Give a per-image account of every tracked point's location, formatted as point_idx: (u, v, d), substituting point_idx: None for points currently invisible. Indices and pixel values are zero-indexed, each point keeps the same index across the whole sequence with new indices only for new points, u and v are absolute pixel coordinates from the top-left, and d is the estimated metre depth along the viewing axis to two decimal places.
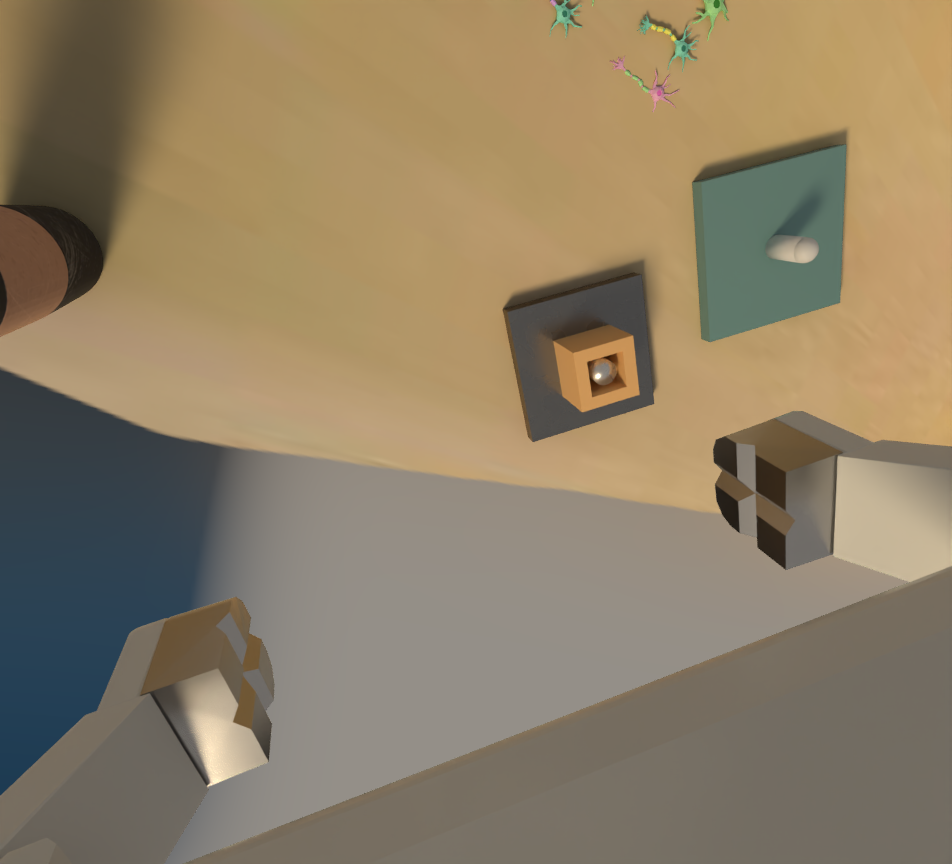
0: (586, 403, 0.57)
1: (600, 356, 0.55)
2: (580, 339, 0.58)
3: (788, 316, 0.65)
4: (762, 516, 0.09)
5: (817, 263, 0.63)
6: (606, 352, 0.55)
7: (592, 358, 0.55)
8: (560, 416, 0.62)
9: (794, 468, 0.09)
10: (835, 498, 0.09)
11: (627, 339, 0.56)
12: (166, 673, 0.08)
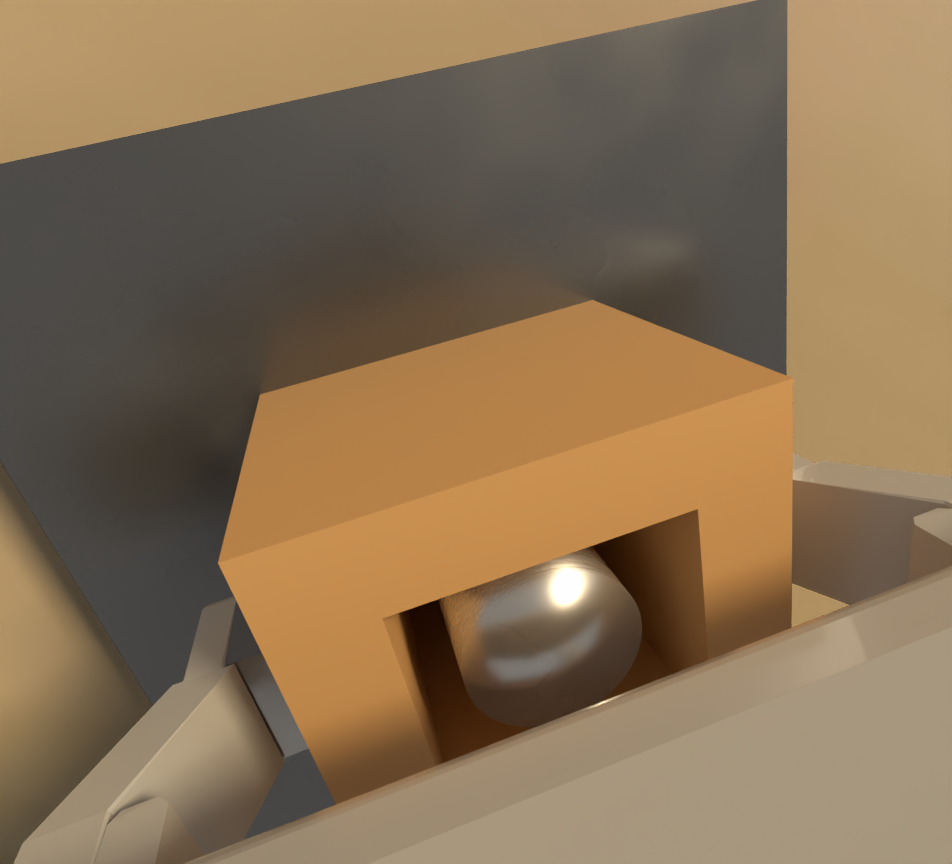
0: (748, 457, 0.07)
1: None
2: None
3: None
4: None
5: None
6: None
7: None
8: (606, 165, 0.10)
9: None
10: None
11: None
12: (247, 645, 0.08)
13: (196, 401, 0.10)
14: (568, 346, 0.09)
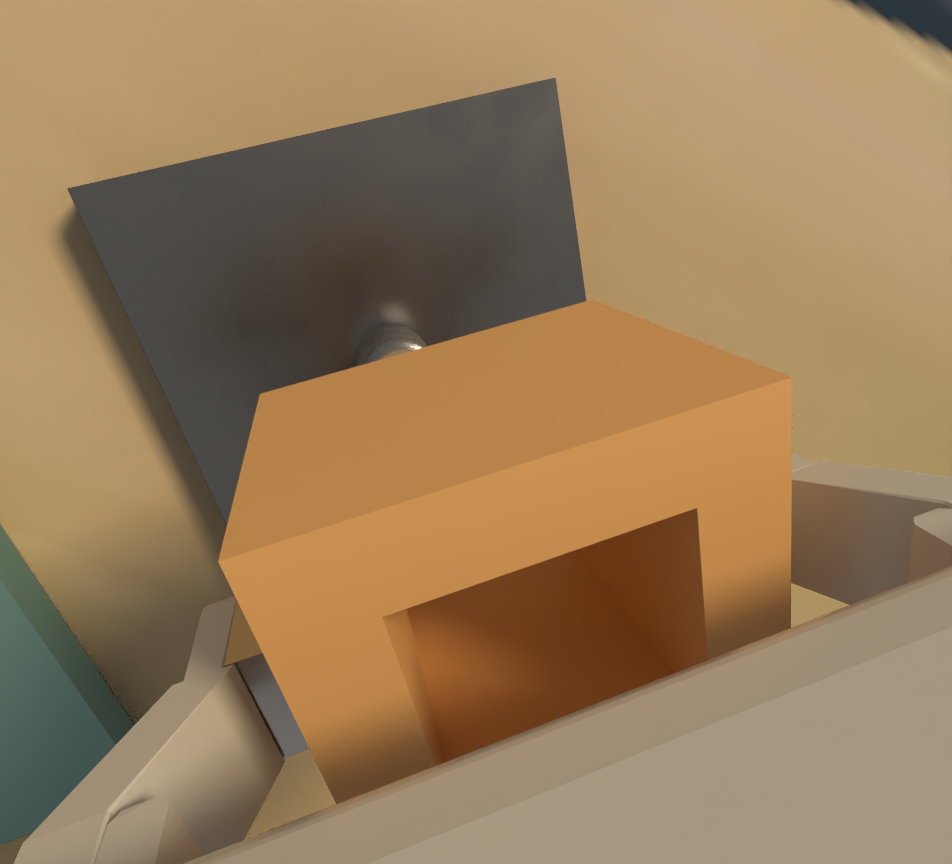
0: (747, 456, 0.07)
1: None
2: None
3: None
4: None
5: None
6: None
7: None
8: (460, 170, 0.18)
9: None
10: None
11: None
12: (247, 645, 0.08)
13: (236, 298, 0.18)
14: (568, 345, 0.09)
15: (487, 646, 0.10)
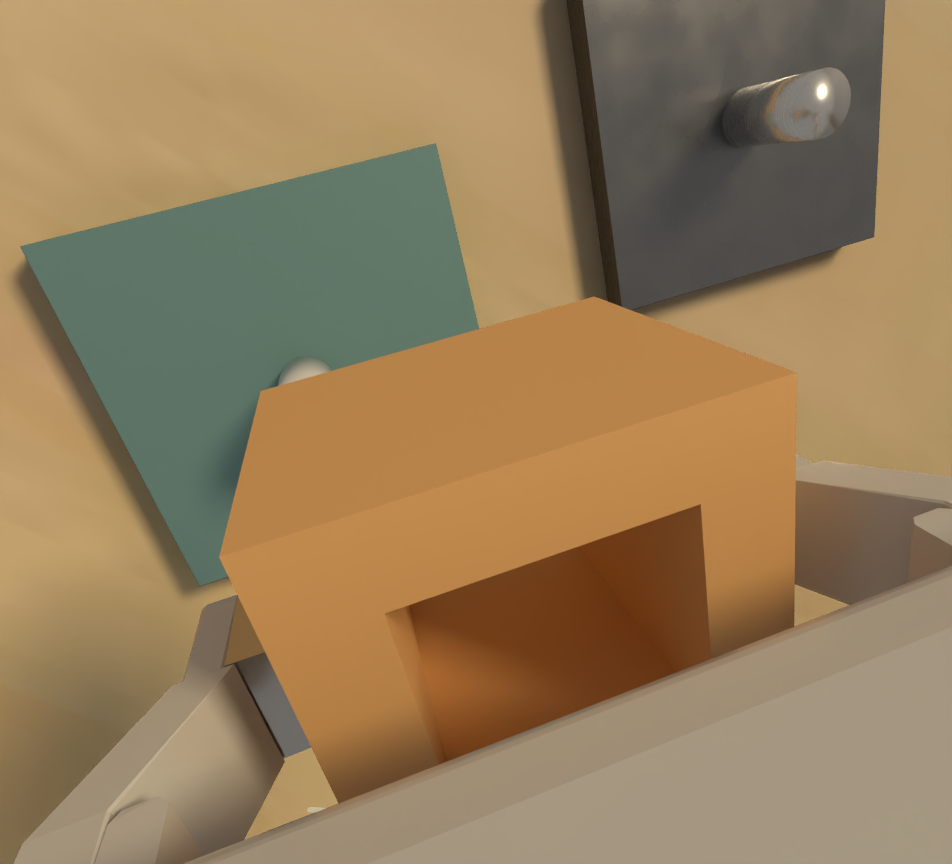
0: (751, 452, 0.07)
1: None
2: None
3: (199, 208, 0.23)
4: None
5: (162, 352, 0.25)
6: None
7: None
8: None
9: None
10: None
11: None
12: (247, 645, 0.08)
13: (659, 55, 0.25)
14: (570, 342, 0.09)
15: (488, 644, 0.10)
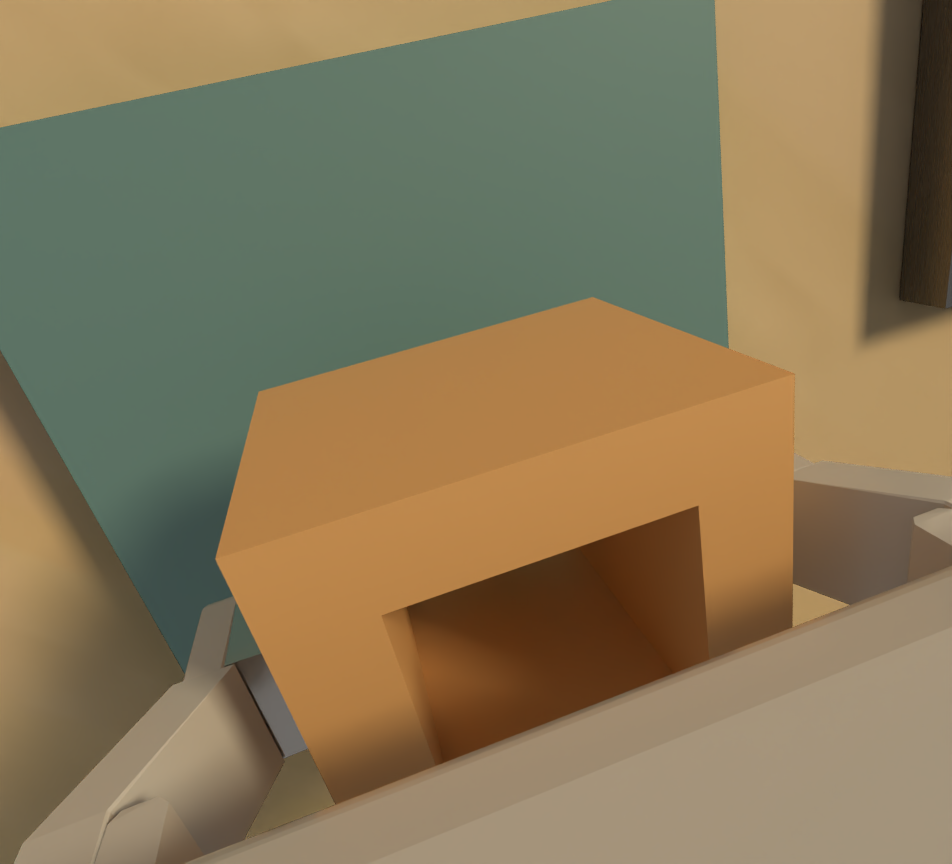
0: (749, 454, 0.07)
1: None
2: None
3: (264, 85, 0.11)
4: None
5: (183, 373, 0.13)
6: None
7: None
8: None
9: None
10: None
11: None
12: (248, 644, 0.08)
13: None
14: (568, 343, 0.09)
15: (487, 645, 0.10)
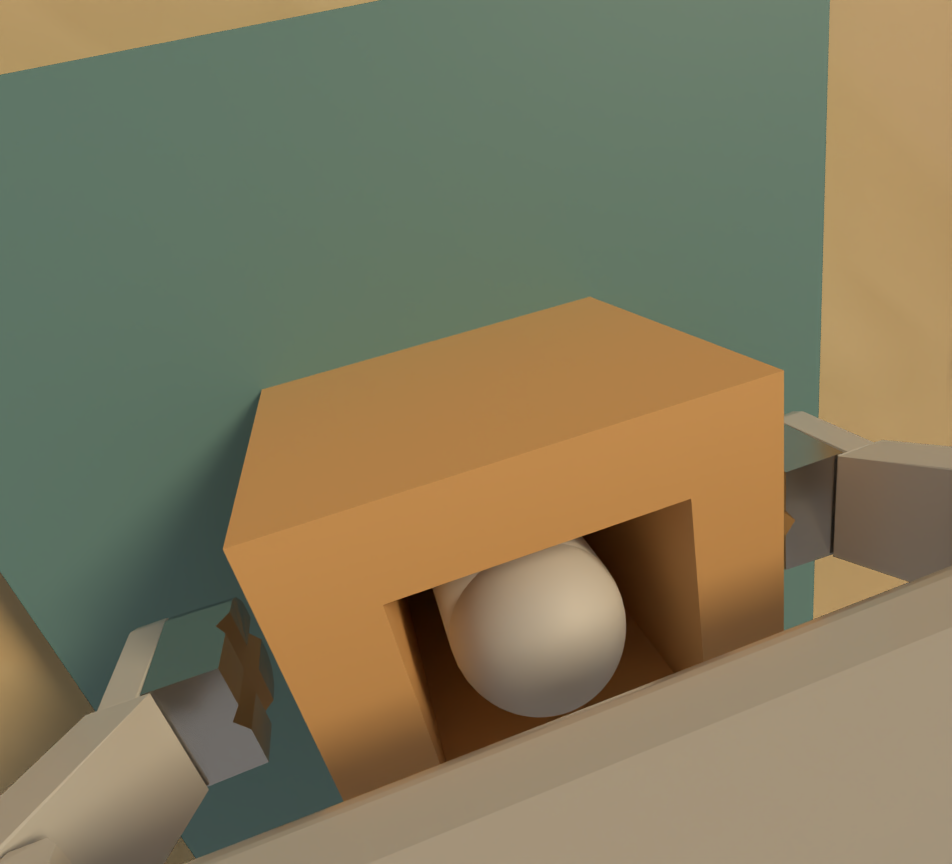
0: (740, 448, 0.07)
1: None
2: None
3: (239, 46, 0.08)
4: None
5: (136, 429, 0.10)
6: None
7: None
8: None
9: (794, 468, 0.09)
10: (835, 498, 0.09)
11: None
12: (166, 673, 0.08)
13: None
14: (565, 341, 0.09)
15: None
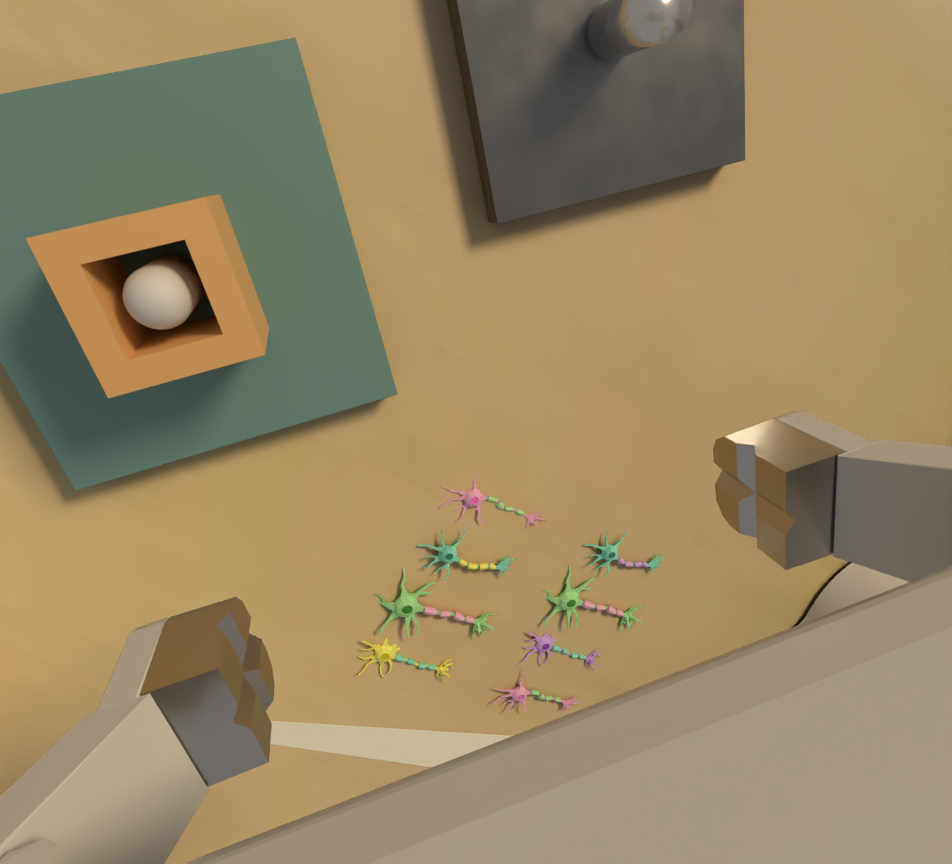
0: (198, 222, 0.22)
1: (188, 347, 0.23)
2: None
3: (50, 91, 0.23)
4: (762, 516, 0.09)
5: (20, 241, 0.24)
6: (173, 356, 0.23)
7: (209, 342, 0.23)
8: None
9: (794, 468, 0.09)
10: (836, 498, 0.09)
11: (121, 387, 0.23)
12: (166, 673, 0.08)
13: None
14: None
15: (171, 334, 0.25)
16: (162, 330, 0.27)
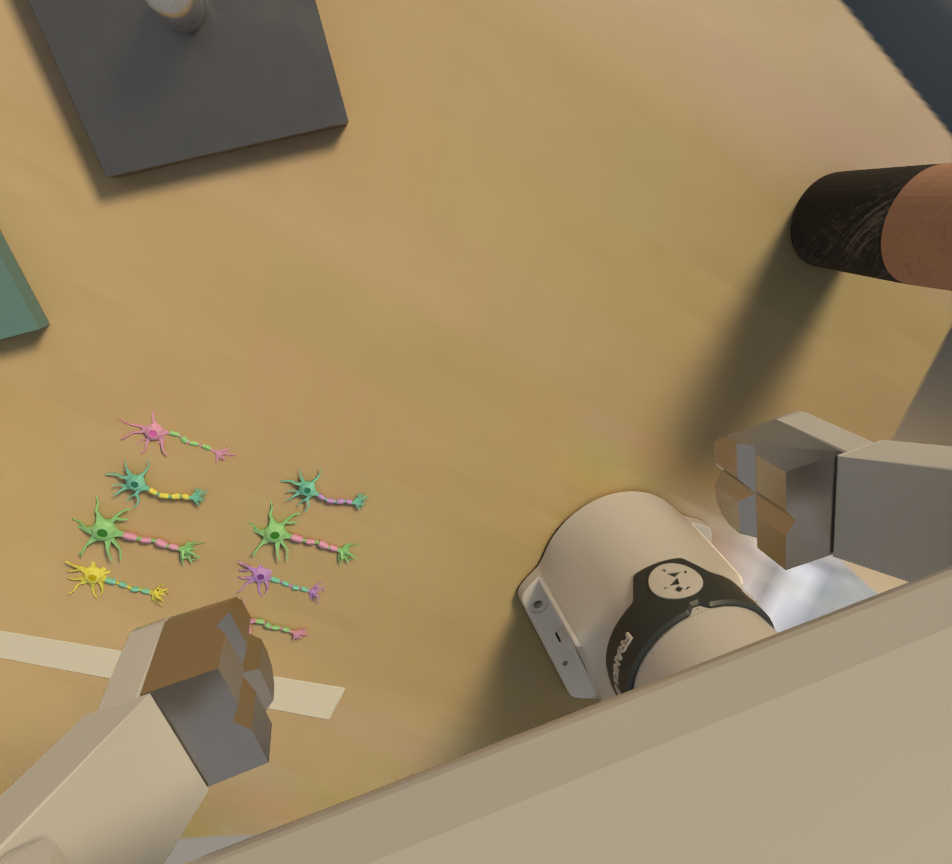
0: None
1: None
2: None
3: None
4: (762, 516, 0.09)
5: None
6: None
7: None
8: None
9: (794, 468, 0.09)
10: (836, 498, 0.09)
11: None
12: (166, 673, 0.08)
13: None
14: None
15: None
16: None
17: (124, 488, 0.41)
